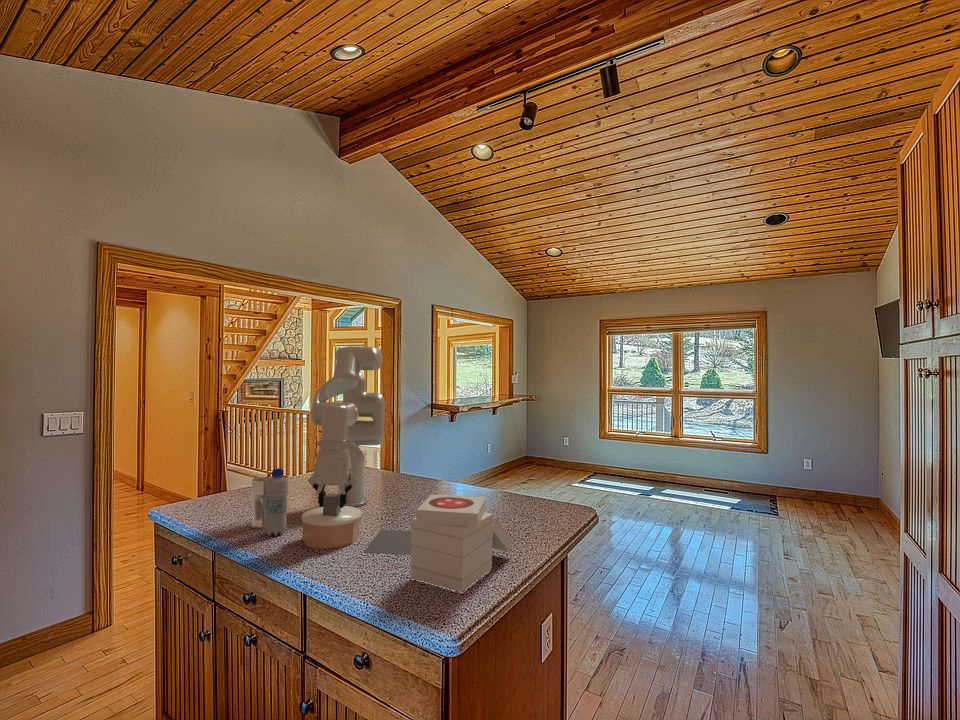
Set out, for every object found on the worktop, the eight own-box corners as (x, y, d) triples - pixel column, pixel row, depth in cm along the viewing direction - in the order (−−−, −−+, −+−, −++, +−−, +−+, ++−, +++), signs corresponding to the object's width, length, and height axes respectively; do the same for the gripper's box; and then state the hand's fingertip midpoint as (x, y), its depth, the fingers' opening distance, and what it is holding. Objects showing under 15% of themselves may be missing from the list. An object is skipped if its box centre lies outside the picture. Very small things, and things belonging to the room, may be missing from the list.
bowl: (316, 531, 149) (317, 509, 149) (363, 533, 148) (363, 510, 148) (295, 549, 134) (296, 524, 134) (347, 551, 133) (348, 526, 133)
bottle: (291, 531, 148) (294, 467, 148) (276, 538, 141) (278, 471, 142) (274, 529, 150) (276, 465, 150) (258, 535, 144) (260, 469, 144)
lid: (315, 507, 150) (315, 487, 150) (367, 509, 149) (368, 489, 149) (291, 525, 133) (292, 501, 133) (350, 527, 132) (351, 504, 132)
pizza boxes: (519, 556, 132) (520, 491, 133) (464, 600, 106) (466, 519, 106) (460, 543, 141) (462, 482, 142) (397, 580, 115) (399, 506, 116)
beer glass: (264, 529, 149) (265, 482, 149) (244, 527, 150) (246, 480, 151) (277, 523, 156) (279, 477, 156) (259, 521, 157) (260, 476, 157)
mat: (380, 531, 150) (380, 529, 150) (440, 534, 149) (440, 532, 149) (363, 554, 131) (363, 552, 131) (431, 557, 130) (431, 555, 130)
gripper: (301, 446, 138) (298, 509, 138) (358, 448, 137) (356, 511, 137) (311, 443, 146) (309, 502, 145) (366, 444, 145) (364, 504, 144)
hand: (332, 505), depth 141 cm, fingers open, 5 cm apart
